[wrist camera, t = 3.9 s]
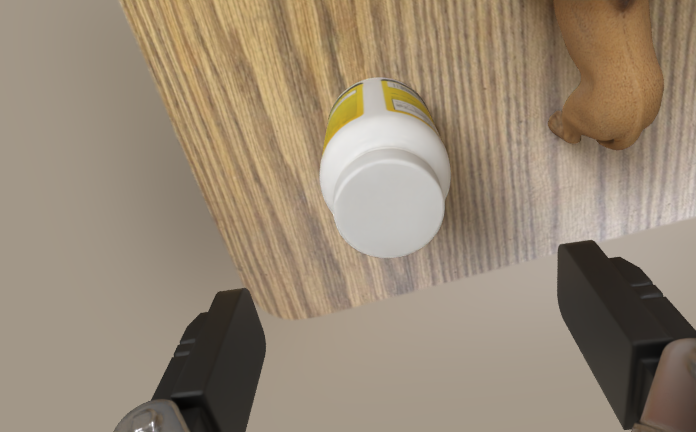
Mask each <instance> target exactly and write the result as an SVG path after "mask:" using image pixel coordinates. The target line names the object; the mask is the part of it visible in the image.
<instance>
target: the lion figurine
mask: <svg viewBox="0 0 696 432" xmlns="http://www.w3.org/2000/svg"><path fill="white" fill-rule="evenodd" d="M553 2H554V9H555V14H556V18H557V21H558V24H559V27H560V30H561V32H562V36H563V39H564V41H565V44H566V47H567V49H568V52H569V54H570V56H571V58H572V60H573V61H574V63H575V64H576V66H577V67H578V69H579V71H580V73H581V82H580V85H579V86H578V87H577V88H576V89H575V90H574V91H573V92H572V93H571V95H570V96H569V97H568V99H567V100H566V102H565V104H564V106H563V109H562V111H560V110H558V111H556V112H555V113H554V114H553V115H551V116H550V118H549V121H548V126H549V128H550V130H551V131H552V132H553V133H554V134H556V135H557V136H559V137H560V138H562V139H564V140H565V141H566V142H568V143H572V144H576V143H578V142H580V140H581V135H585V136H588V137H590V138H593V139H596V141H597V142H598V143H599V144H600V145H602V146H604V147H606V148H609V149H613V150H622V149H625V148H628V147H630V146H631V145H632V144H634V142H635V141H636V140H637V139H638V137H639V136H640V134H641V132H642V131H643V129H645V128H646V127H648V126H649V125H650V124H651V123H652V122H653V120H654V119H655V117H656V116H657V114H658V112H659V109H660V106H661V101H662V95H663V91H664V80H663V74H662V71H661V68H660V66H659V64H658V61H657V58H656V54H655V51H654V47H653V40H652V31H651V22H650V12H649V1H648V0H553Z"/></svg>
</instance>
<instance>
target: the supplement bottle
mask: <svg viewBox="0 0 696 432" xmlns="http://www.w3.org/2000/svg"><path fill="white" fill-rule="evenodd" d="M450 181H451V168H450V162H449V158H448V154H447V151H446V148H445V146H444V144H443V142H442V140H441V138H440V135H439V133H438V131H437V129H436V127H435V124H434V122H433V120H432V118H431V116H430V114H429V111H428V109H427V107H426V105H425V103H424V102H423V100H422V99H421V98H420V96H419V95H418V94H417V93H416V92H415V91H414V90H413V89H412V88H410V87H409V86H407V85H406V84H404V83H402V82H400V81H397V80H394V79H390V78H381V77H378V78H369V79H365V80H362V81H360V82H357V83H355V84H354V85H352V86H350V87H349V88H348V89H346V90H345V91H344V92H343V93H342V94H341V95H340V96H339V97H338V99H337V100H336V102H335V103H334V105H333V107H332V109H331V112H330V115H329V118H328V123H327V130H326V136H325V142H324V148H323V153H322V158H321V163H320V186H321V191H322V194H323V197H324V200H325V202H326V204H327V206H328V208H329V209H330V211H331V212H332V213H333V215H334V221H335V224H336V227H337V229H338V231H339V233H340V234H341V236H342V237H343V239H344V240H345V241H346V242H347V243H348V244H349V245H350V246H352V247H353V248H354V249H356V250H358V251H359V252H361V253H363V254H366V255H369V256H372V257H377V258H398V257H403V256H406V255H409V254H412V253H414V252H416V251H418V250H420V249H421V248H423V247H424V246H425V245H427V244H428V243H429V242H430V241H431V240H432V239H433V238H434V236H435V235H436V234H437V232H438V230H439V228H440V226H441V224H442V221H443V217H444V211H445V202H444V201H445V199H446V197H447V194H448V191H449V187H450Z"/></svg>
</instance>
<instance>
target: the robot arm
mask: <svg viewBox="0 0 696 432" xmlns="http://www.w3.org/2000/svg"><path fill="white" fill-rule="evenodd" d="M557 280H558V281H557V296H558V304H559V308H560V312H561V315H562V317H563V319H564V321H565V323H566V325H567V327H568V329H569V331H570V332H571V334H572V336H573V338H574V340H575V342H576V343H577V345H578V347H579V349H580V351H581V352H582V354H583V356H584V358H585V360H586V361H587V363H588V365H589V367H590V369H591V371H592V372H593V374H594V376H595V378H596V380H597V382H598V383H599V385H600V387H601V389H602V390H603V392H604V394H605V396H606V398H607V400H608V402H609V403H610V405H611V407H612V409H613V411H614V413H615V414H616V416H617V418H618V420H619V422H620V423H621V425H622V427H623V429H624V430H629V429H632V431H631V432H696V330H695V329H694V328H693V327H692V326H691V325H690V324H689V322H687V320H686V319H685V318H684V317H683V316H682V315H681V313H680V312H679V311H678V310H677V309H676V308H675V307H674V306H673V304H672V303H671V302H670V301H669V300H668V299H667V298H666V297H663V293H662V292H661V291H660V290H659V289H658V288H657V287H656V286H655V285H653V283H652V281H651V280H650V279H649V278H648V276H647V275H646V274H645V273H644V272H643V271H642V270H641V269H640V268H639V267H637V266H635V265H634V264H632V263H630V262H628V261H626V260H625V259H623V258H621V257H614V258H608V257H607V256H606V255H605V253H604V252H603V251H602V250H601V249H600V247H599V246H598V245H597V244H596V242H595V241H593V240H587V241H580V242H573V243H566V244H560V245H559V247H558V277H557ZM265 352H266V342H265V335H264V331H263V328H262V325H261V323H260V320H259V317H258V314H257V311H256V308H255V305H254V303H253V300H252V297H251V294H250V292H249V290H248V289H247V288H242V289H234V290H227V291H220V292H218V293H217V294H216V296H215V298H214V300H213V302H212V305H211V307H210V309H209V311H208V312H205V313H200V314H199V315H198V316H197V317H196V318H195V319H194V320H193V321H192V322H191V323H190V324H189V326H188V327H187V328H186V330H185V332H184V334H183V336H182V338H181V340H180V345H178V346H177V348H176V351H175V353H174V357H172V359H171V361H170V363H169V365H168V367H167V369H166V371H165V373H164V375H163V377H162V379H161V381H160V383H159V385H158V387H157V389H156V391H155V393H154V395H153V397H152V399H151V401H148V402H146V403H143V404H141V405H140V406H138V407H136V408H135V409H133V410H132V411H130V412H129V413H128V414H127V415H126V416H125V417H124V418H123V419H122V420H121V421H120V422H119V423H118V425H117V427H116V428H115V430H114V432H245V431H246V427H247V424H248V420H249V416H250V412H251V408H252V404H253V400H254V396H255V393H256V389H257V384H258V381H259V377H260V373H261V369H262V365H263V362H264V358H265Z"/></svg>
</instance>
